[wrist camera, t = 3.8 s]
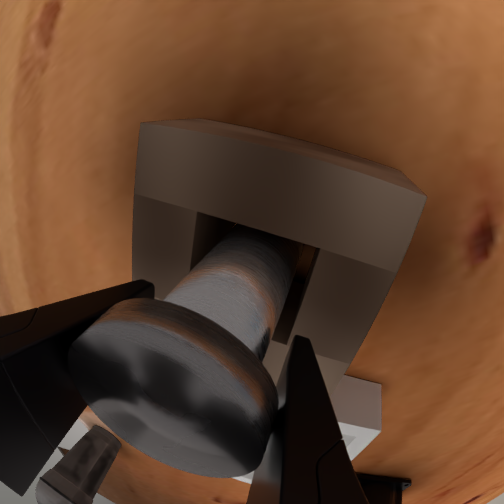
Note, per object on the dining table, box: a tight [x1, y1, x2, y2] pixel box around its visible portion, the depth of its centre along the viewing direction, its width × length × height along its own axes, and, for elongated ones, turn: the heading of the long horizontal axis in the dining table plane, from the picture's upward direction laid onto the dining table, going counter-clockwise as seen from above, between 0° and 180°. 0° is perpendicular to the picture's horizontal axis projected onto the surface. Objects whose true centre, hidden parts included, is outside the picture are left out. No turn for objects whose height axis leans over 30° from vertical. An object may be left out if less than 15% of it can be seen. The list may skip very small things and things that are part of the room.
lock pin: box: [67, 224, 303, 478], centre depth 9 cm, size 4×4×9 cm
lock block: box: [132, 118, 427, 397], centre depth 12 cm, size 9×9×4 cm
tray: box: [232, 375, 382, 484], centre depth 18 cm, size 12×12×4 cm
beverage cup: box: [36, 426, 121, 504], centre depth 24 cm, size 7×7×20 cm
